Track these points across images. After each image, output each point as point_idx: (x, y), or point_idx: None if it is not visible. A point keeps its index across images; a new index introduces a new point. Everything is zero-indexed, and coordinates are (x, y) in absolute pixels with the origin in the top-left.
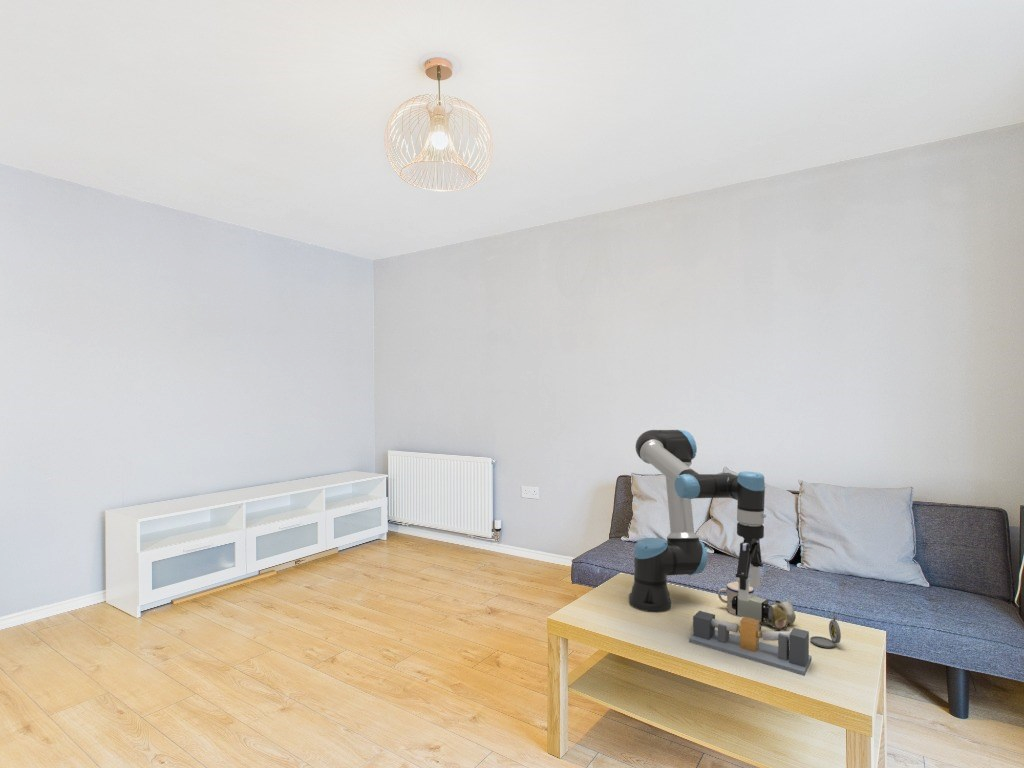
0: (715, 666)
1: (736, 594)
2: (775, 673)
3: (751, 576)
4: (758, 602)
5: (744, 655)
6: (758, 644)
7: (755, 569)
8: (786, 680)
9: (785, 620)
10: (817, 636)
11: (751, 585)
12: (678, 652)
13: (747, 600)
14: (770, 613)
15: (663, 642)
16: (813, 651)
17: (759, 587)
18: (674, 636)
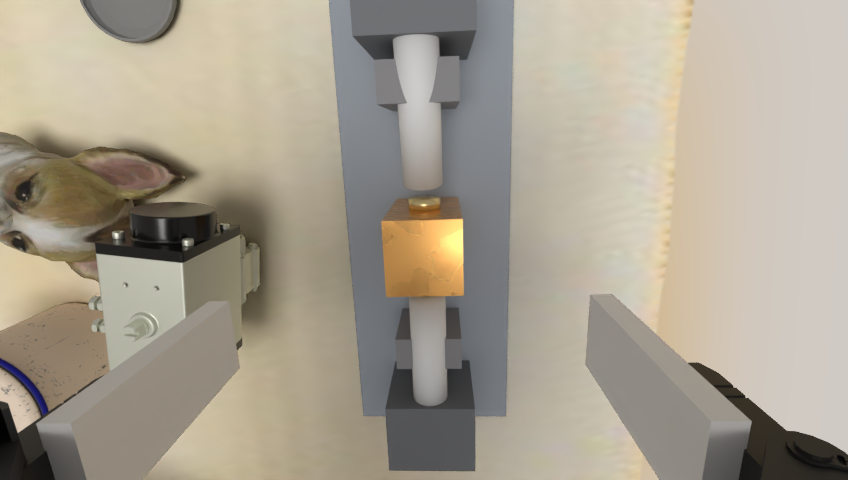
0: (645, 283)
1: (58, 403)
2: (566, 93)
3: (185, 414)
4: (184, 279)
5: (508, 224)
6: (406, 200)
7: (111, 441)
8: (602, 42)
9: (87, 160)
10: (90, 17)
11: (232, 362)
12: (612, 408)
13: (613, 301)
14: (180, 209)
15: (565, 466)
16: (243, 9)
17: (206, 303)
18: (493, 455)
